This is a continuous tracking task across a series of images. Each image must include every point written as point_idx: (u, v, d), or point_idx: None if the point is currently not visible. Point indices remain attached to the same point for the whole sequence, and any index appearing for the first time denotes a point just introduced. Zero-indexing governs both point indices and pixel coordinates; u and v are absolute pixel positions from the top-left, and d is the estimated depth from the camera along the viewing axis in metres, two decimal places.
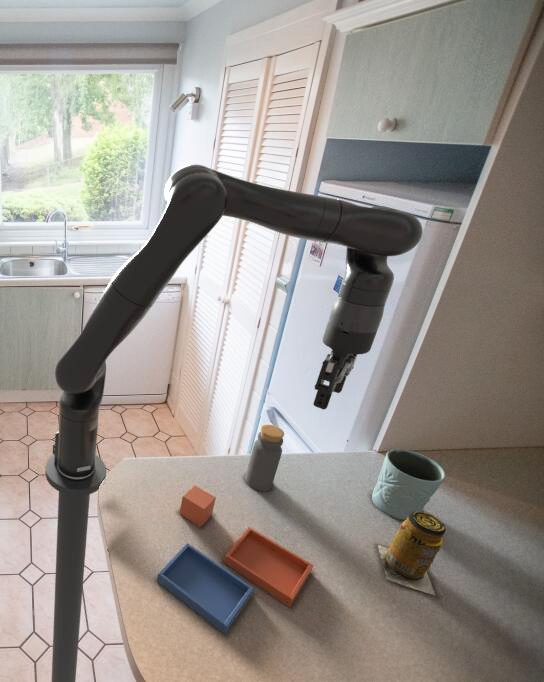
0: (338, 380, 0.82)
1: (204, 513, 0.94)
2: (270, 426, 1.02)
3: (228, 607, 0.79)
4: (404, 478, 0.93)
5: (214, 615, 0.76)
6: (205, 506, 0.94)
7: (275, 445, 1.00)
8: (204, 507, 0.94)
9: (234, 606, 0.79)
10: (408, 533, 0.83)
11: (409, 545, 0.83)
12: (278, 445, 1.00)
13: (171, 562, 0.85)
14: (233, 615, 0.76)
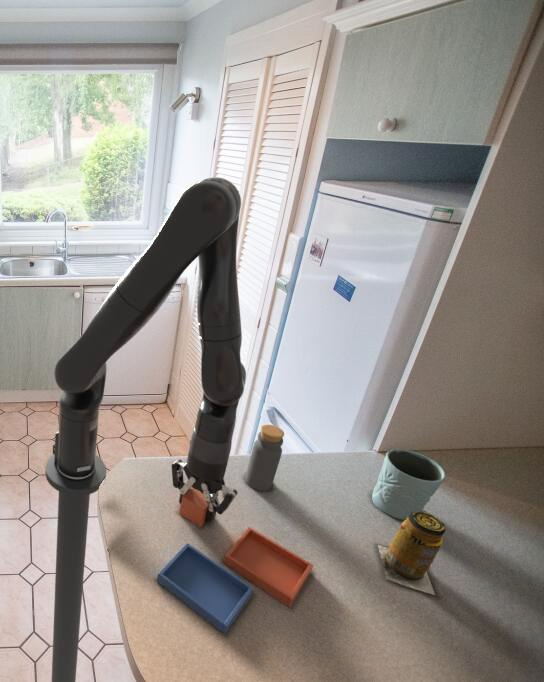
0: (183, 485, 0.97)
1: (204, 513, 0.94)
2: (270, 426, 1.02)
3: (228, 607, 0.79)
4: (404, 478, 0.93)
5: (214, 615, 0.76)
6: (205, 506, 0.94)
7: (275, 445, 1.00)
8: (204, 507, 0.94)
9: (234, 606, 0.79)
10: (408, 533, 0.83)
11: (409, 544, 0.83)
12: (278, 445, 1.00)
13: (171, 562, 0.85)
14: (233, 615, 0.76)
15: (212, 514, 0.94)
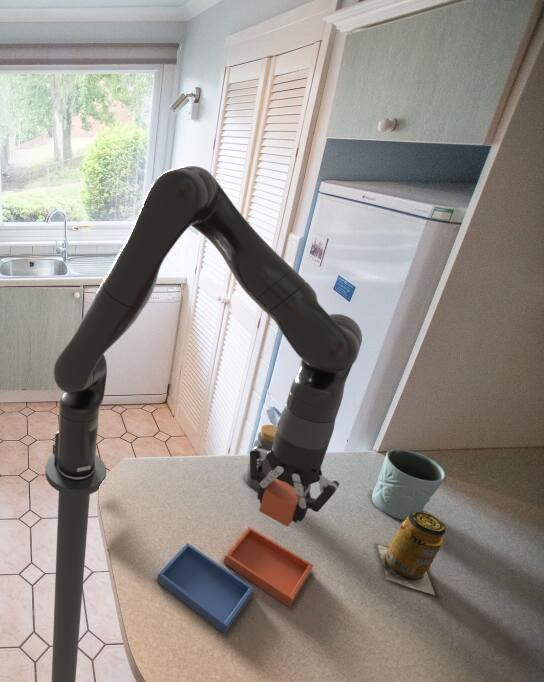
0: (266, 477, 0.80)
1: (294, 510, 0.77)
2: (270, 426, 1.02)
3: (228, 607, 0.79)
4: (404, 478, 0.93)
5: (214, 615, 0.76)
6: (295, 502, 0.77)
7: None
8: (294, 503, 0.77)
9: (234, 606, 0.79)
10: (408, 532, 0.83)
11: (409, 544, 0.83)
12: None
13: (171, 562, 0.85)
14: (233, 615, 0.76)
15: (303, 511, 0.77)
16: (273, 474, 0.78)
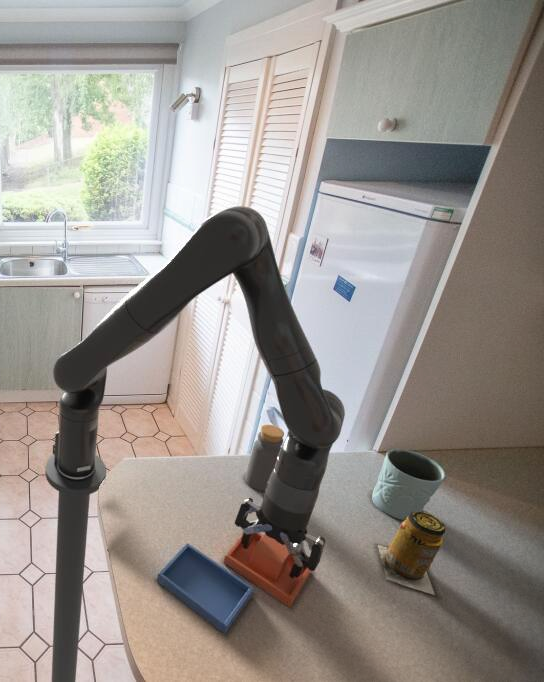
0: (251, 527, 0.85)
1: (281, 567, 0.82)
2: (270, 426, 1.02)
3: (228, 607, 0.79)
4: (404, 478, 0.93)
5: (214, 615, 0.76)
6: (283, 559, 0.82)
7: (275, 445, 1.00)
8: (282, 561, 0.81)
9: (234, 606, 0.79)
10: (408, 532, 0.83)
11: (408, 544, 0.83)
12: (278, 445, 1.00)
13: (171, 562, 0.85)
14: (233, 615, 0.76)
15: (300, 569, 0.81)
16: (260, 528, 0.83)
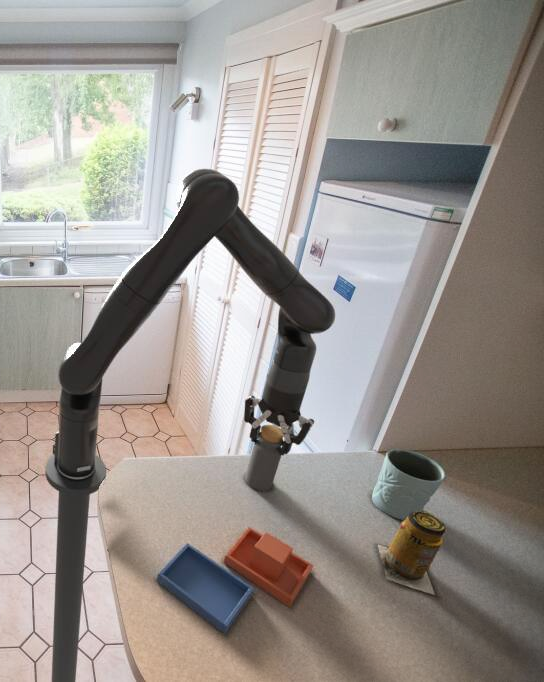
0: (256, 419, 1.01)
1: (281, 567, 0.82)
2: (270, 426, 1.02)
3: (228, 607, 0.79)
4: (404, 478, 0.93)
5: (214, 615, 0.76)
6: (283, 559, 0.82)
7: (275, 445, 0.99)
8: (282, 561, 0.81)
9: (234, 606, 0.79)
10: (408, 532, 0.83)
11: (408, 544, 0.83)
12: (278, 445, 1.00)
13: (171, 562, 0.85)
14: (233, 615, 0.76)
15: (289, 446, 0.98)
16: (263, 416, 1.00)
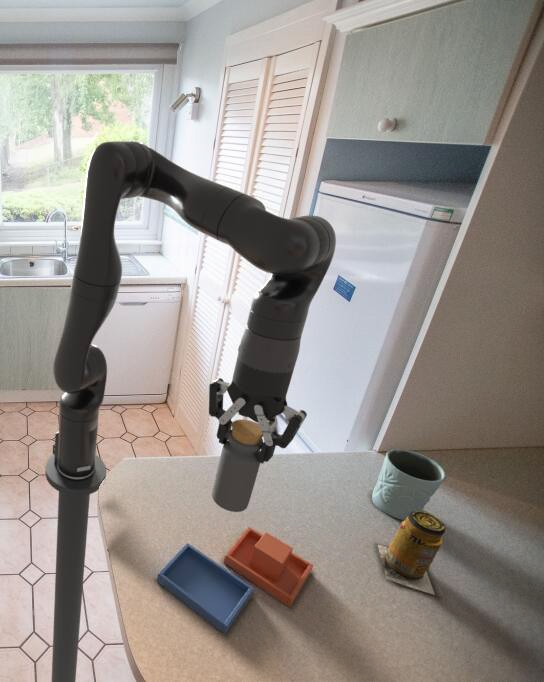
0: (225, 411, 0.71)
1: (281, 567, 0.82)
2: (244, 422, 0.72)
3: (228, 607, 0.79)
4: (404, 478, 0.93)
5: (214, 615, 0.76)
6: (283, 559, 0.82)
7: (251, 449, 0.69)
8: (282, 561, 0.81)
9: (234, 606, 0.79)
10: (408, 532, 0.83)
11: (408, 544, 0.83)
12: (256, 449, 0.69)
13: (171, 562, 0.85)
14: (233, 615, 0.76)
15: (270, 450, 0.68)
16: (233, 408, 0.70)
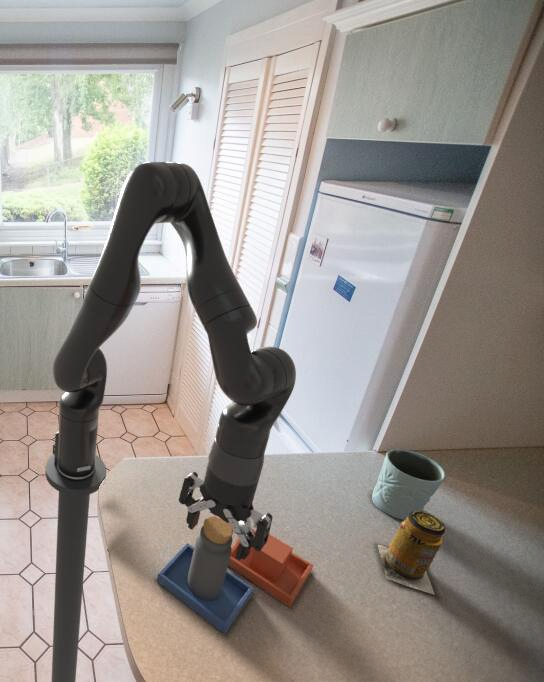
0: (195, 504, 0.76)
1: (281, 567, 0.82)
2: (216, 519, 0.77)
3: (228, 607, 0.79)
4: (404, 478, 0.93)
5: (214, 615, 0.76)
6: (283, 559, 0.82)
7: (221, 548, 0.75)
8: (282, 561, 0.81)
9: (234, 606, 0.79)
10: (408, 532, 0.83)
11: (408, 544, 0.83)
12: (225, 548, 0.75)
13: (171, 562, 0.85)
14: (233, 615, 0.76)
15: (246, 550, 0.72)
16: (203, 505, 0.75)
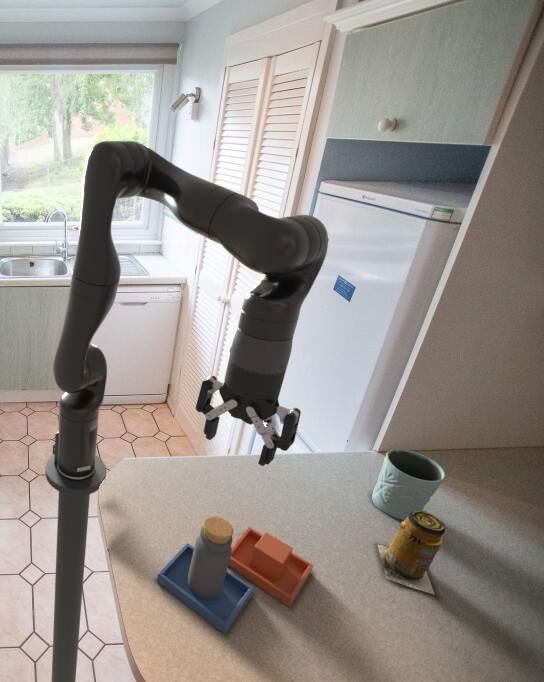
0: (214, 408, 0.71)
1: (281, 567, 0.82)
2: (216, 519, 0.77)
3: (228, 607, 0.79)
4: (404, 478, 0.93)
5: (214, 615, 0.76)
6: (283, 559, 0.82)
7: (221, 548, 0.75)
8: (282, 561, 0.81)
9: (234, 606, 0.79)
10: (408, 532, 0.83)
11: (408, 544, 0.83)
12: (225, 548, 0.75)
13: (171, 562, 0.85)
14: (233, 615, 0.76)
15: (271, 452, 0.66)
16: (223, 407, 0.69)
